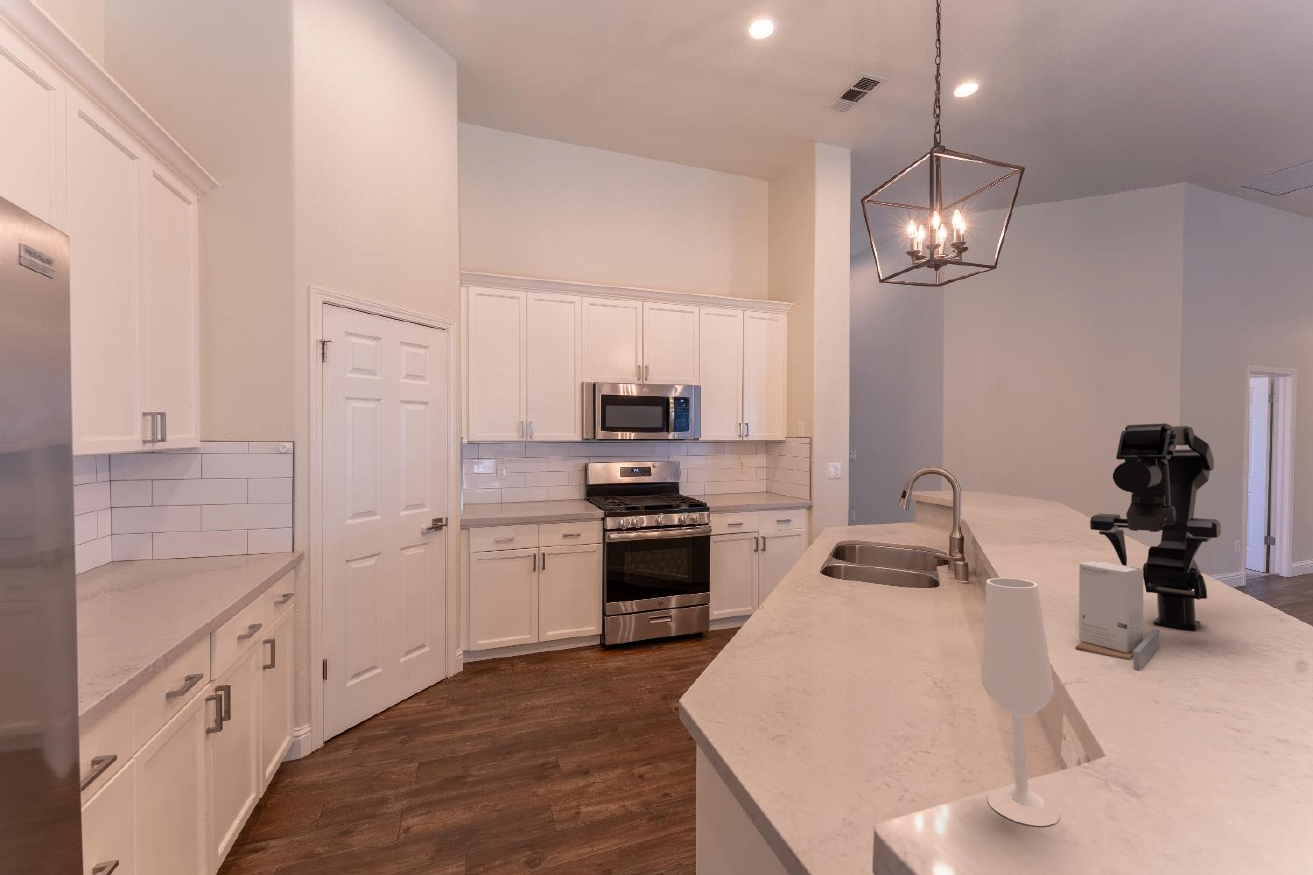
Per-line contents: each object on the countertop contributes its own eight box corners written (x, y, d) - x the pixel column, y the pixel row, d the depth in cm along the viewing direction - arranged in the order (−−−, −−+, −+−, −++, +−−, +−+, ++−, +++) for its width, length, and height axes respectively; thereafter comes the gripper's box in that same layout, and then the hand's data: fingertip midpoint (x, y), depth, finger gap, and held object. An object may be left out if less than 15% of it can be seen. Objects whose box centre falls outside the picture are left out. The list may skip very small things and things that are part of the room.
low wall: (1154, 645, 109) (1153, 629, 109) (1159, 646, 109) (1159, 630, 109) (1133, 669, 99) (1133, 651, 99) (1140, 670, 98) (1139, 652, 98)
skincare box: (1078, 641, 112) (1074, 562, 112) (1096, 636, 114) (1092, 559, 115) (1130, 654, 104) (1126, 570, 104) (1148, 648, 107) (1143, 566, 107)
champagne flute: (1058, 799, 64) (1047, 578, 65) (1061, 834, 59) (1049, 592, 59) (988, 782, 68) (978, 574, 68) (984, 814, 62) (974, 586, 63)
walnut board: (1092, 635, 116) (1092, 633, 116) (1144, 644, 110) (1143, 642, 110) (1075, 649, 109) (1075, 646, 109) (1129, 659, 103) (1129, 657, 103)
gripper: (1080, 490, 116) (1084, 570, 115) (1209, 493, 102) (1214, 584, 101) (1096, 486, 123) (1100, 561, 123) (1219, 488, 109) (1223, 573, 108)
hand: (1154, 569), depth 114 cm, fingers open, 9 cm apart
